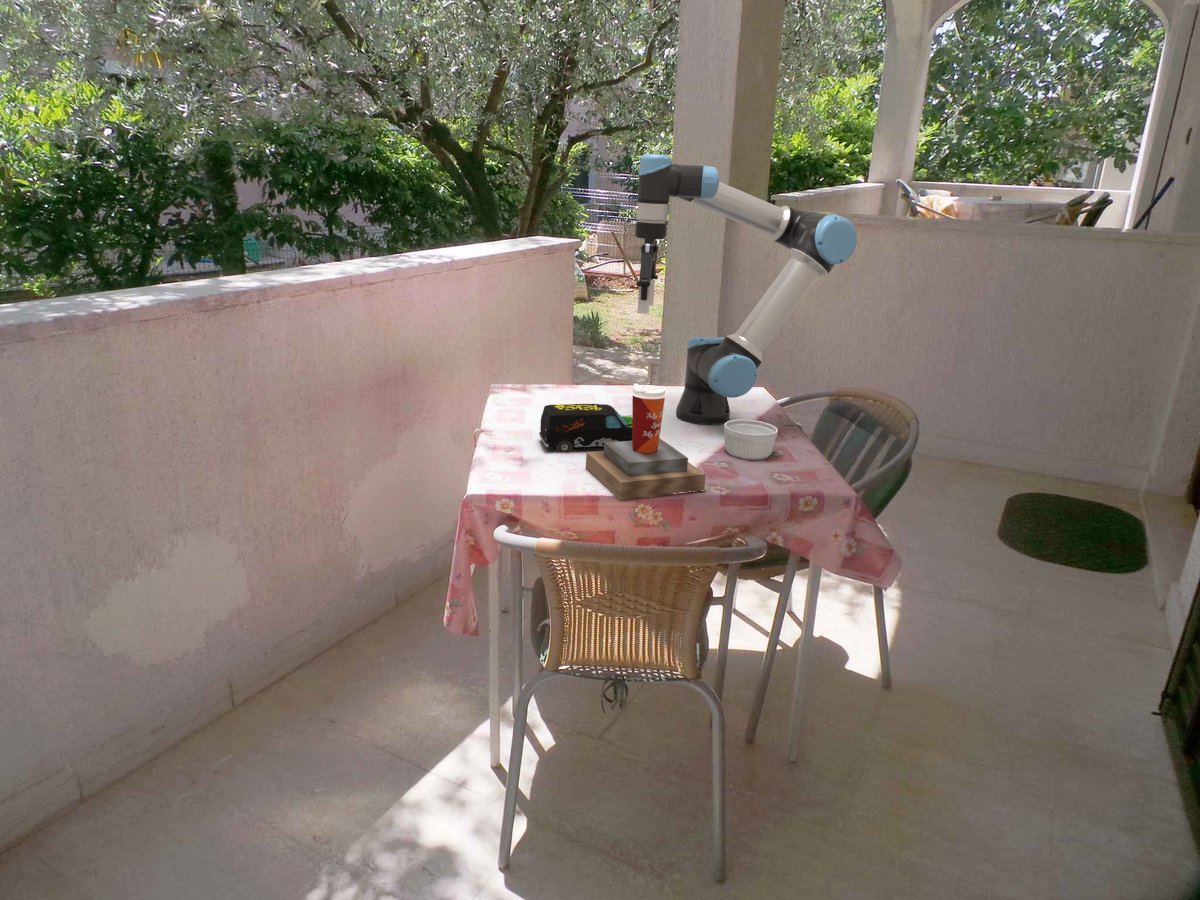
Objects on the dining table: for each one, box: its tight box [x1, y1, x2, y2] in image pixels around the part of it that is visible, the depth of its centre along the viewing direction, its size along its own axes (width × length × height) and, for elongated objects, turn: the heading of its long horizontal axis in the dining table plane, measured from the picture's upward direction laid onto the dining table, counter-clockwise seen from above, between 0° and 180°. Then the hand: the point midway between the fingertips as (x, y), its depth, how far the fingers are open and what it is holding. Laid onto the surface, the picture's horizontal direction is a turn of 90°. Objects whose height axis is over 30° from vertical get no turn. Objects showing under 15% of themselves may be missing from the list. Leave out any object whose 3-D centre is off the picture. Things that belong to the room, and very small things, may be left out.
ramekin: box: [723, 418, 779, 461], centre depth 212 cm, size 13×13×7 cm
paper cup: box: [630, 384, 667, 454], centre depth 187 cm, size 8×8×14 cm
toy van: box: [538, 403, 632, 453], centre depth 211 cm, size 11×25×10 cm, turn 103°
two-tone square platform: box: [585, 438, 707, 501], centre depth 190 cm, size 20×20×7 cm
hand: (645, 309), depth 213 cm, fingers open, 13 cm apart
